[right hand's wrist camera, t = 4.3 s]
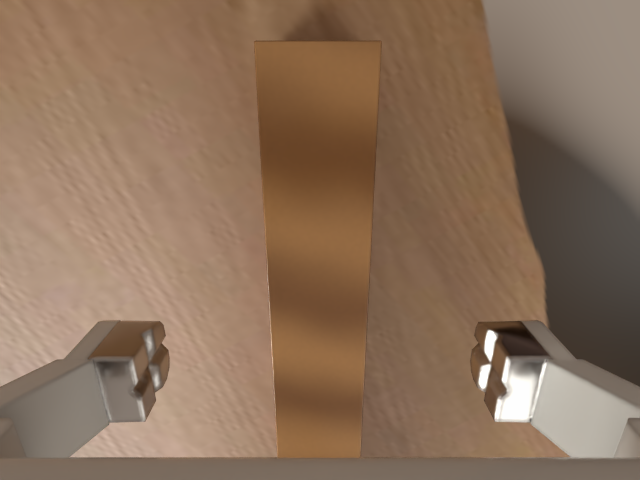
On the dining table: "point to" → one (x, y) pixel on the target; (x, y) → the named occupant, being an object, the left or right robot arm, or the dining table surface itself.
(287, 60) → the beam
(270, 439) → the dining table surface
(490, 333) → the right robot arm
